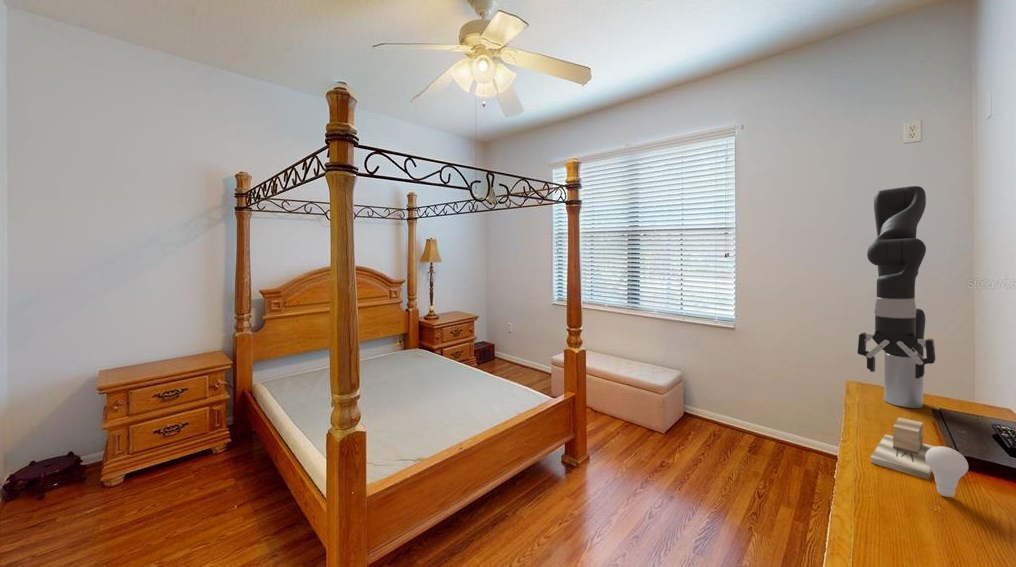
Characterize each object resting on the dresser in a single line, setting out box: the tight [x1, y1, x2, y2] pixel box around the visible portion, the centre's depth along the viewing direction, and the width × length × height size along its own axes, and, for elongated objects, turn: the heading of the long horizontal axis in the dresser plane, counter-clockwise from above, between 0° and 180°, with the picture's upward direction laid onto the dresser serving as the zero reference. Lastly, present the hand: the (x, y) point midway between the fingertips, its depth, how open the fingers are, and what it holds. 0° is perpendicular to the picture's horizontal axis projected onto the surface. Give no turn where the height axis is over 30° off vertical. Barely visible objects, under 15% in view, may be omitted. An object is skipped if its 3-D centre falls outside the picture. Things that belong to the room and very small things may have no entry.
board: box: [870, 434, 936, 480], centre depth 97 cm, size 18×10×2 cm, turn 126°
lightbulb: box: [925, 445, 969, 498], centre depth 82 cm, size 6×6×11 cm
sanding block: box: [892, 417, 924, 455], centre depth 100 cm, size 8×4×6 cm, turn 126°
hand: (894, 374), depth 100 cm, fingers open, 8 cm apart
